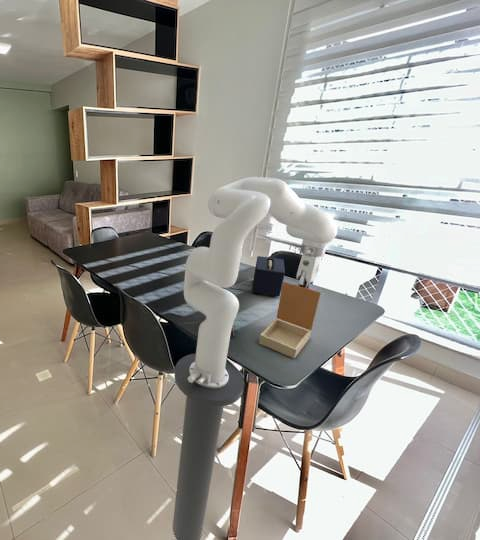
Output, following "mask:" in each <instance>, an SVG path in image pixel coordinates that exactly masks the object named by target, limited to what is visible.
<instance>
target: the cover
mask: <svg viewBox="0 0 480 540" xmlns="http://www.w3.org/2000/svg"><path fill="white" fill-rule="evenodd" d="M298 285H299V284H298ZM298 285H297V284H294V283H291V282H288V281H283V284H282V288H281V292H280V296H279V302H278V308H277V314H276V319H279V320H282V321H284V322H287V323H290V324H293V325H296V326H298V327H301V328H304V329H307V330H309V331H312V330H313V326H314V321H315V318H316V314H317V311H318V306H319V301H320V298H321V294H322V291H319V290H316V289H313V288H310V287H309V288H305V287H302V286H298Z"/></svg>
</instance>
